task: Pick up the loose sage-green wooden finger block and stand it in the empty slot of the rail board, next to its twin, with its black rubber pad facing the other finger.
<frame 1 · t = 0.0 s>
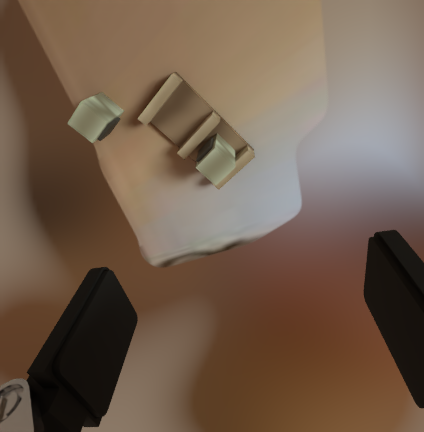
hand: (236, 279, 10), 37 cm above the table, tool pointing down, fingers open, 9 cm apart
rail board: (199, 131, 45), on the table
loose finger: (106, 111, 44), on the table
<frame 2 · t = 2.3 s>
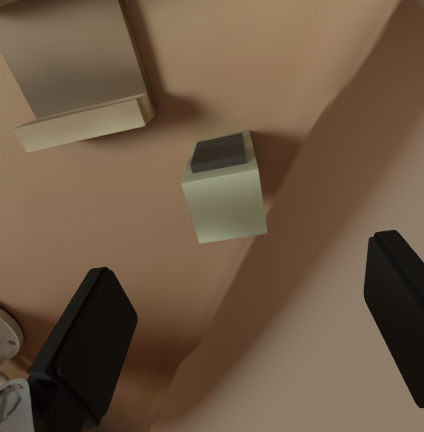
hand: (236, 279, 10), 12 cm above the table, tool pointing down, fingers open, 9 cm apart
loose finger: (226, 161, 21), on the table
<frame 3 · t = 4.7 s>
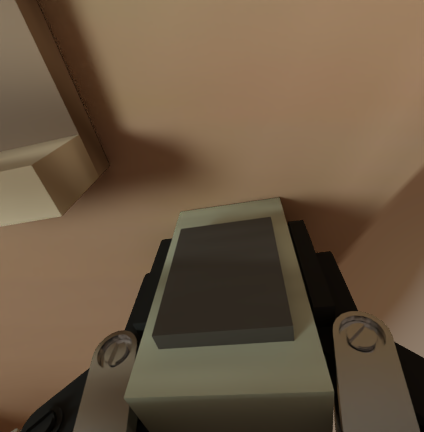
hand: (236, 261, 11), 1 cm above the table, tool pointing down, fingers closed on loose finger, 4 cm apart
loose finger: (236, 243, 12), on the table, touching gripper
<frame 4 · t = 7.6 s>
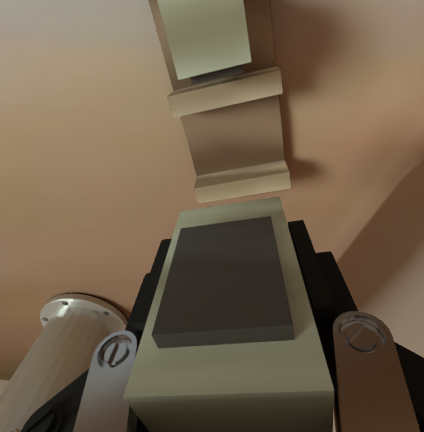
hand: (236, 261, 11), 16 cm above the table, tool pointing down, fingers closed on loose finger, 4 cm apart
rail board: (225, 87, 23), on the table
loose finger: (236, 243, 12), point 15 cm above the table, touching gripper
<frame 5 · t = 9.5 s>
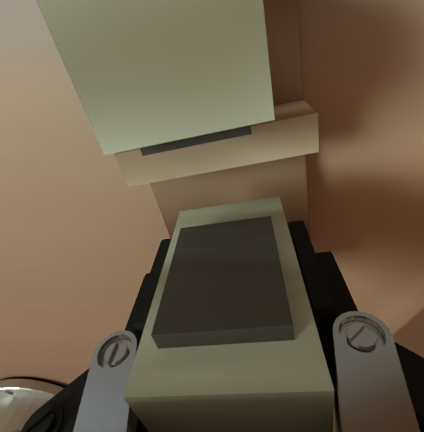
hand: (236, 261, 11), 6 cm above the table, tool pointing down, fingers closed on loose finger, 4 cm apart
rail board: (217, 129, 14), on the table
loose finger: (236, 243, 12), point 5 cm above the table, touching gripper
when the fingers open (3 cm above the table, at t = 10.9 s): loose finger stays where it is, resting on rail board.
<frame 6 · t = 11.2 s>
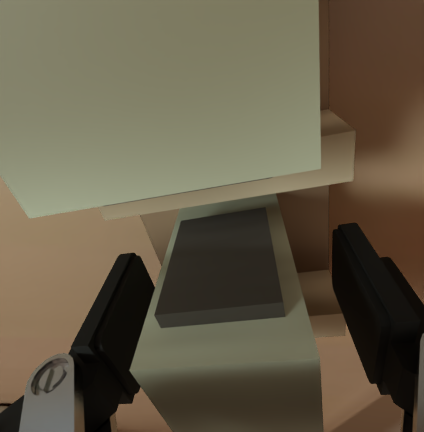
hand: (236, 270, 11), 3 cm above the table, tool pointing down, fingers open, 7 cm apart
rail board: (219, 143, 11), on the table
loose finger: (235, 236, 13), point 1 cm above the table, touching rail board
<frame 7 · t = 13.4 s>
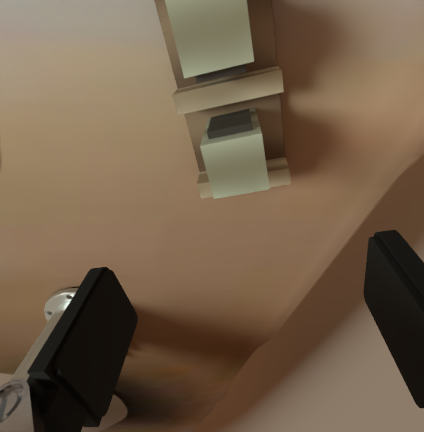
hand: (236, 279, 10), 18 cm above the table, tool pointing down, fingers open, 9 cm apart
rail board: (228, 85, 23), on the table
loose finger: (235, 136, 25), point 1 cm above the table, touching rail board
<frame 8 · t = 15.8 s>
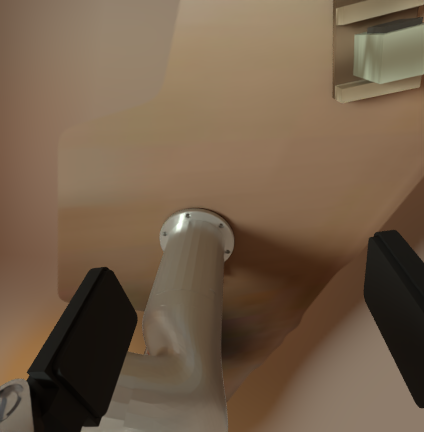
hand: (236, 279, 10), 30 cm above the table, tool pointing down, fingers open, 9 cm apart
rail board: (372, 7, 29), on the table
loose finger: (373, 50, 31), point 1 cm above the table, touching rail board
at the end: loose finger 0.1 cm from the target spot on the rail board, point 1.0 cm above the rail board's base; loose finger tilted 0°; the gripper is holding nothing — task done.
